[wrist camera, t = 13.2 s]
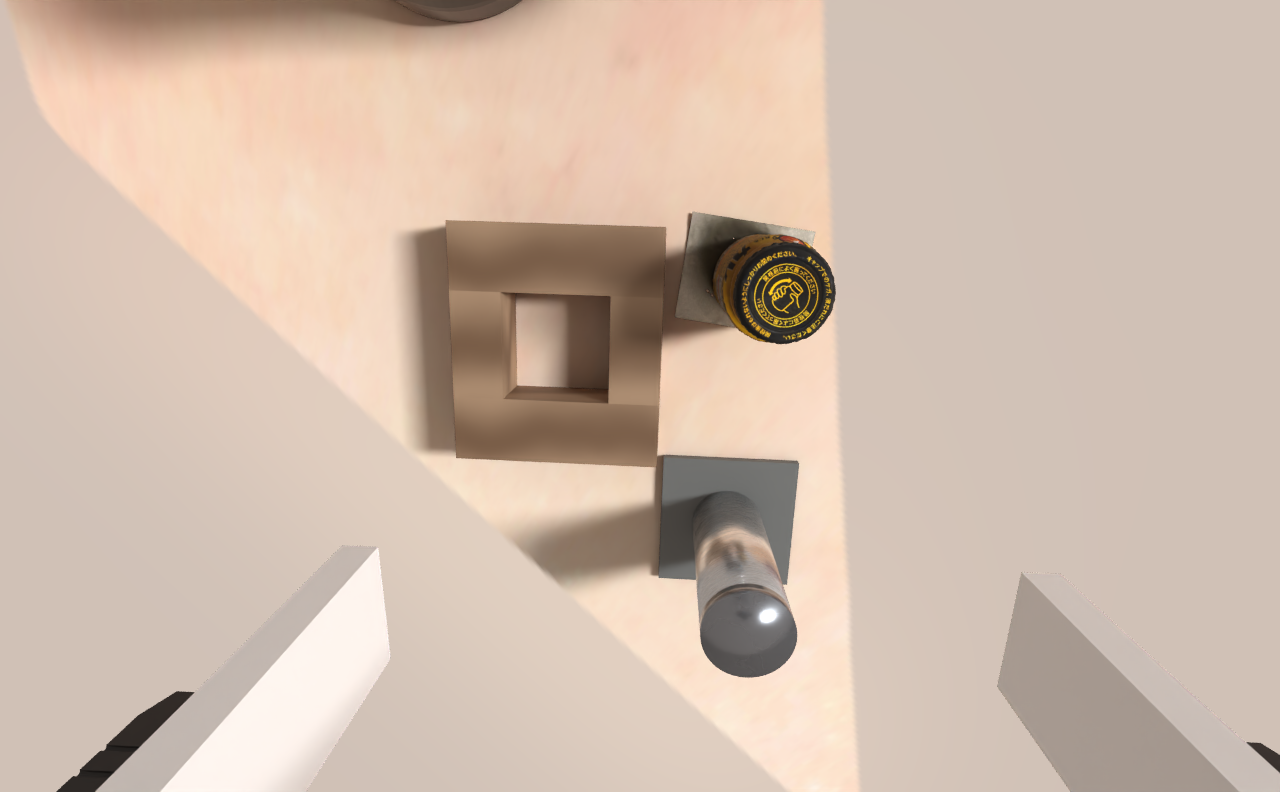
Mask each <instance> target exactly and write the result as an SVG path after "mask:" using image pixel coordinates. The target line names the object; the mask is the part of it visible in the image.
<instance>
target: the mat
mask: <svg viewBox="0 0 1280 792" xmlns="http://www.w3.org/2000/svg"><path fill="white" fill-rule="evenodd" d="M798 469H799V463H798V461H787V460H765V459H743V458H721V457H700V456H678V455H664V463H663V487H662V510H661V533H660V556H659V578H673V579H692V580H696V567H695V553H694V539H693V525H692V520H693V515H694V512H695V509H696V508H697V506H698V505H699V503H700V502H701V501H702V500H703V499H704V498H706V497H707V496H709V495H711V494H713V493H716V492H720V491H734V492H738V493H741V494H743V495H745V496H747V497H748V498H749V499H751V500H752V501H753V502H754V504H755V505H756V507H757V508H758V510H759V513H760V516H761V519H762V522H763V525H764V528H765V531H766V535H767V538H768V541H769V544H770V547H771V550H772V553H773V556H774V559H775V562H776V565H777V569H778V572H779V575H780V578H781V581H782V584H786V585H787V578H788V568H789V558H790V548H791V538H792V528H793V518H794V509H795V499H796V489H797V479H798Z"/></svg>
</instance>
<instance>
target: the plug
mask: <svg viewBox="0 0 1280 792" xmlns="http://www.w3.org/2000/svg"><path fill="white" fill-rule="evenodd" d="M692 525H693V539H694V553H695V567H696V581H697V595H698V609H699V623H700V637H701V644H702V647H703V650H704V652H705V654H706V656H707V657H708V659H709V660H710V661H711V662H712V663H713V664H714V665H715V666H716V667H717V668H719V669H720V670H722V671H724V672H726V673H728V674H731V675H734V676H738V677H759V676H763V675H766V674H769V673H771V672H773V671H775V670H777V669H778V668H780V667H781V666H782V665H783V664H785V663H786V661H787V660H788V659H789V658H790V656H791V655H792V653H793V651H794V649H795V646H796V642H797V628H796V625H795V621H794V618H793V615H792V612H791V609H790V606H789V603H788V600H787V596H786V593H785V590H784V587H783V584H782V581H781V578H780V575H779V572H778V569H777V565H776V562H775V559H774V556H773V553H772V550H771V547H770V544H769V541H768V538H767V535H766V531H765V528H764V525H763V522H762V519H761V516H760V513H759V510H758V508H757V507H756V505H755V504H754V502H753V501H752V500H751V499H749V498H748V497H747V496H745V495H743V494H741V493H738V492H734V491H720V492H716V493H713V494H711V495H709V496H707V497H706V498H704V499H703V500H702V501H701V502H700V503H699V505H698V506H697V508H696V509H695V512H694V515H693V520H692Z"/></svg>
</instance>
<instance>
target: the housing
mask: <svg viewBox="0 0 1280 792" xmlns="http://www.w3.org/2000/svg"><path fill="white" fill-rule="evenodd" d="M446 241H447V263H448V285H449V307H450V330H451V352H452V374H453V396H454V418H455V441H456V458H468V459H489V460H511V461H532V462H554V463H575V464H597V465H618V466H640V467H656V464H657V448H658V423H659V398H660V374H661V349H662V324H663V299H664V274H665V249H666V227H643V226H611V225H579V224H547V223H515V222H483V221H451V220H446ZM515 293H537V294H565V295H593V296H610V348H609V389H585V388H561V387H537V386H517V355H516V301H515Z"/></svg>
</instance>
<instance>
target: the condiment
mask: <svg viewBox="0 0 1280 792" xmlns="http://www.w3.org/2000/svg"><path fill="white" fill-rule="evenodd" d="M814 236H815V232H814V231H808V230H802V229H795V228H789V227H783V226H777V225H771V224H765V223H758V222H753V221H746V220H740V219H734V218H728V217H722V216H716V215H709V214H704V213H697V212H693V214H692V219H691V225H690V231H689V237H688V242H687V248H686V254H685V260H684V266H683V271H682V277H681V283H680V289H679V295H678V301H677V306H676V312H675V317H676V318H682V319H688V320H695V321H700V322H707V323H713V324H719V325H725V326H732V327H736V328H737V329H738V330H739V331H741V332H743V333H744V334H745V335H747V336H749V337H751V338H753V339H755V340H758V341H763V342H770V343H776V344H788V343H792V342H798V341H800V340H802V339H806V338H808V337H809V336H811V335H812V334H814V333H815V332H816V331H817V330H818V329H819V328H820V327H821V326H822V325H823V324H824V322H825V321H826V319H827V318H828V316H829V315H830V314H831V311H832V308H833V303H834V301H835V294H836V291H835V283H834V277H833V275H832V272H831V268H830V267H829V265H828V263H827V262H826V261H825V259H824V258H822V257H821V256H820V254H819V253H818V252H816V250H815V249H813V248H812V246H813V241H814ZM733 238H734V239H733ZM706 289H708V290H709V291H710V293H707V291H706ZM711 294H713V297H711Z"/></svg>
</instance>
